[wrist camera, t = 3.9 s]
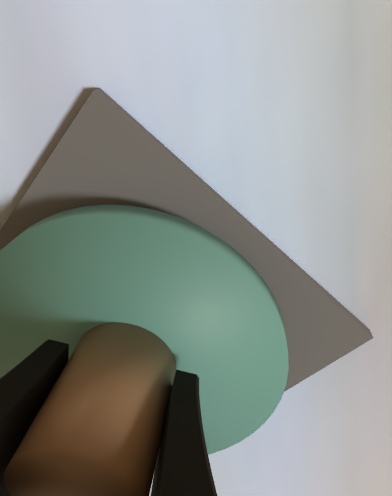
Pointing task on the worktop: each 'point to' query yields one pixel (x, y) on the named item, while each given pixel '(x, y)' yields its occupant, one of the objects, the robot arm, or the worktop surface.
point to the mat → (188, 208)
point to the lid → (133, 343)
